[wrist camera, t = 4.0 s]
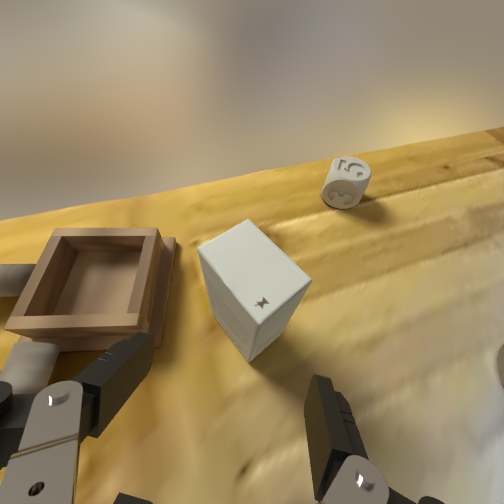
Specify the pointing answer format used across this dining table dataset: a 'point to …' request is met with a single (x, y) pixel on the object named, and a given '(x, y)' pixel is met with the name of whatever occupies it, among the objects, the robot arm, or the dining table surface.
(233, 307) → the skincare box
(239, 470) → the dining table surface
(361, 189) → the die
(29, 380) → the block
